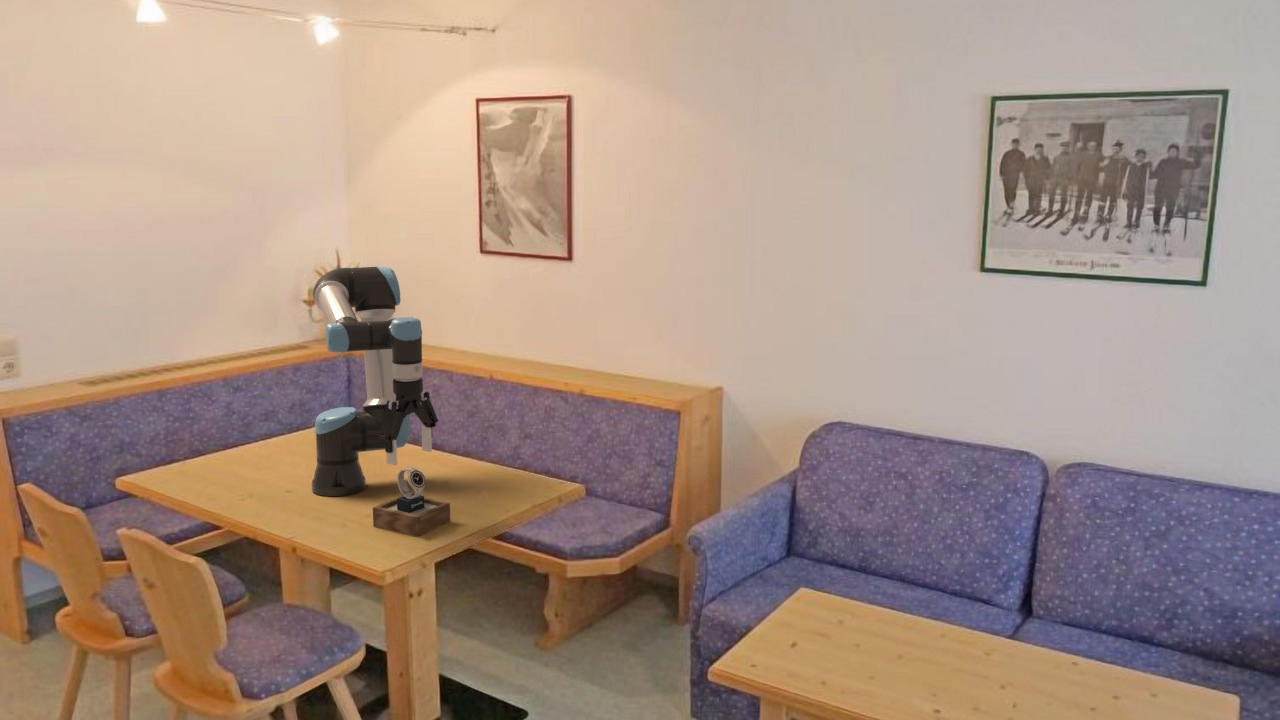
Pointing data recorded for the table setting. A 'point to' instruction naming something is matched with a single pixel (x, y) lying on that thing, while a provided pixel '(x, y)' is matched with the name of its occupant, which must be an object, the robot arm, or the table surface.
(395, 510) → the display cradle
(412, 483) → the watch
